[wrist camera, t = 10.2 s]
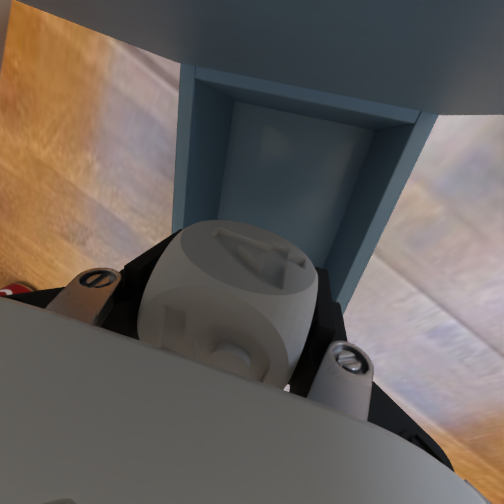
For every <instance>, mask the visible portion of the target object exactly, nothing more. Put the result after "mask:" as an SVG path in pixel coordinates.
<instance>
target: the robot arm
mask: <svg viewBox="0 0 504 504" xmlns="http://www.w3.org/2000/svg"><path fill="white" fill-rule="evenodd" d="M182 230H183V229H179V230H178V231H176V232H175V233H173V234H172V235H170V236H169V237H167V238H166V239H164V240H163V241H161V242H160V243H158V244H157V245H155V246H154V247H152V248H151V249H149V250H148V251H146V252H145V253H143V254H142V255H140V256H139V257H137V258H135V259H134V260H132V261H131V262H129V263H128V264H126V265H125V266H124V269H123V270H121V271H120V272H118V271H116V270H114V269H110V268H94V269H90V270H86V271H84V272H82V273H80V274H79V275H77V276H76V277H75V278H74V279H73V280H72V281H71V282H70V283H69V284H68V285H67V286H66V287H61V288H54V289H46V290H39V291H32V292H25V293H17V294H10V295H2V296H0V504H492V503H491V502H490V501H489V500H487V499H486V498H485V497H484V496H483V495H482V494H481V493H480V492H479V491H478V490H477V489H476V488H475V487H474V486H472V485H471V484H470V483H469V482H468V481H467V480H466V479H465V480H463V479H462V478H460V477H459V476H458V475H457V474H455V472H454V469H453V467H452V465H451V463H450V460H449V459H448V457H447V456H446V454H445V453H444V451H443V450H442V449H441V448H440V446H439V445H438V444H437V443H436V442H435V441H434V440H433V439H432V438H431V437H430V436H429V435H428V434H427V433H426V432H425V431H424V430H423V429H422V428H421V427H420V426H419V425H418V424H417V423H416V422H415V421H414V420H413V419H412V418H410V417H409V416H408V415H407V414H406V413H405V412H404V411H403V410H402V409H401V408H400V407H399V406H398V405H397V404H396V403H395V402H394V401H393V400H392V399H391V398H390V397H389V396H388V395H387V394H386V393H385V392H384V391H383V390H382V389H381V388H380V387H379V386H378V385H376V384H375V383H374V382H373V375H374V367H373V364H372V362H371V360H370V358H369V357H368V356H367V354H366V353H365V352H364V351H362V350H361V349H360V348H359V347H357V346H355V345H354V344H351V343H349V342H347V336H346V331H345V326H344V321H343V315H342V310H341V305H340V303H339V302H336V301H332V296H331V288H330V281H329V274H328V270H326V269H322V268H318V267H315V270H316V272H317V275H318V291H317V298H316V304H315V309H314V313H313V317H312V321H311V325H310V329H309V332H308V335H307V338H306V342H305V344H304V347H303V350H302V353H301V355H300V358H299V360H298V363H297V365H296V367H295V370H294V372H293V374H292V376H291V378H290V380H289V381H288V383H287V384H289V385H290V392H287V391H284V390H281V389H278V388H275V387H273V386H270V385H267V384H264V383H261V382H258V381H255V380H252V379H250V378H247V377H244V376H241V375H238V374H235V373H232V372H229V371H227V370H224V369H221V368H218V367H215V366H212V365H209V364H206V363H203V362H200V361H198V360H195V359H192V358H189V357H186V356H183V355H180V354H177V353H174V352H171V351H168V350H165V349H162V348H160V347H157V346H154V345H151V344H148V343H145V342H142V341H140V340H139V336H138V331H137V319H138V312H139V307H140V303H141V300H142V296H143V294H144V291H145V288H146V285H147V283H148V280H149V278H150V276H151V274H152V272H153V270H154V268H155V266H156V264H157V262H158V260H159V259H160V257H161V255H162V254H163V252H164V251H165V249H166V248H167V246H168V245H169V244H170V242H171V241H172V240H173V239H174V238H175V237H176V236H177V234H179V233H180V232H181V231H182Z"/></svg>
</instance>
